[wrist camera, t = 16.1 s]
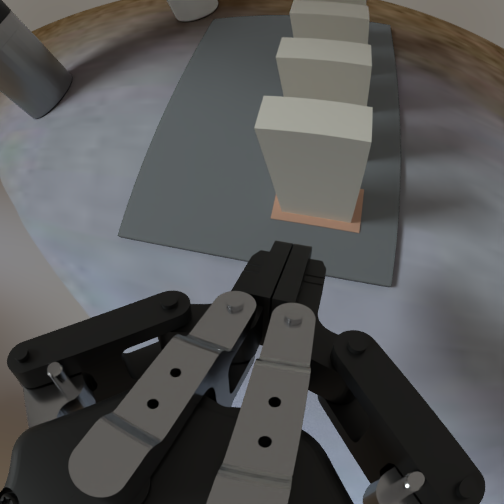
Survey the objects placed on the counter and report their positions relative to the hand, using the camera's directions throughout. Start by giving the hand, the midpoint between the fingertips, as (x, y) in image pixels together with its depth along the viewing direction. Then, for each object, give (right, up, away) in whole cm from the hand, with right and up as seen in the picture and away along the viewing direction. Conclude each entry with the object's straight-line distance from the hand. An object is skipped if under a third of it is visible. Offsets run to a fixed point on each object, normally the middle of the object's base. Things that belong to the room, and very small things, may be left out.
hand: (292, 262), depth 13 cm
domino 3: (+3, +4, +9) cm, 10 cm away
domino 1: (+5, +13, +11) cm, 18 cm away
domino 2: (+4, +9, +10) cm, 14 cm away
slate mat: (+1, +14, +13) cm, 19 cm away
